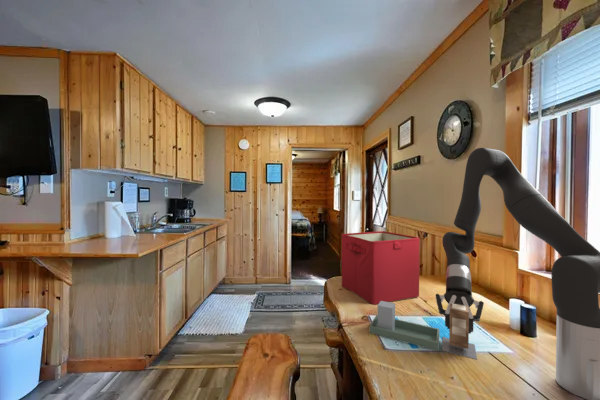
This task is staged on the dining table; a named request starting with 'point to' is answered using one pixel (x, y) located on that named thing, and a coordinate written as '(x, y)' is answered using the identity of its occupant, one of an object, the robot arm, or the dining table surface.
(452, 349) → the slate pad
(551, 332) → the dining table surface
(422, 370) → the dining table surface
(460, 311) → the label box
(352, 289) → the storage cube
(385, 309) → the plain box
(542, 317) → the dining table surface
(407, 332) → the parts bin
